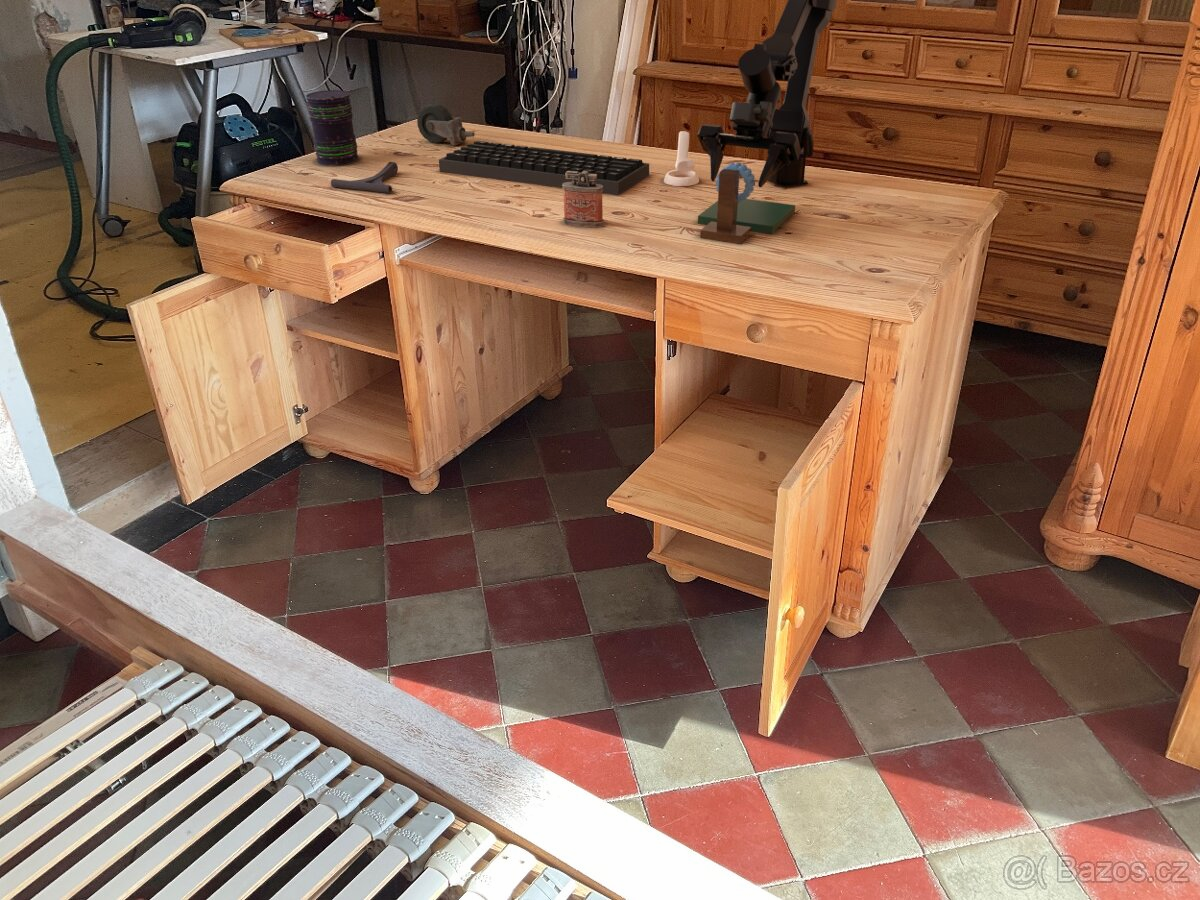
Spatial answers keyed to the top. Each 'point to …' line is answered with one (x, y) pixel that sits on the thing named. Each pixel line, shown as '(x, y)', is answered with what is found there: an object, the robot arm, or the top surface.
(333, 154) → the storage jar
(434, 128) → the caster wheel
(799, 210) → the top surface
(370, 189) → the dark grey branched pipe
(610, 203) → the top surface
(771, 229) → the cutting board
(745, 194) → the blue fluted ring
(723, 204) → the peg stand
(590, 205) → the lighter
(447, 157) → the computer keyboard
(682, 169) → the white piece
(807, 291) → the top surface
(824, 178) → the top surface
